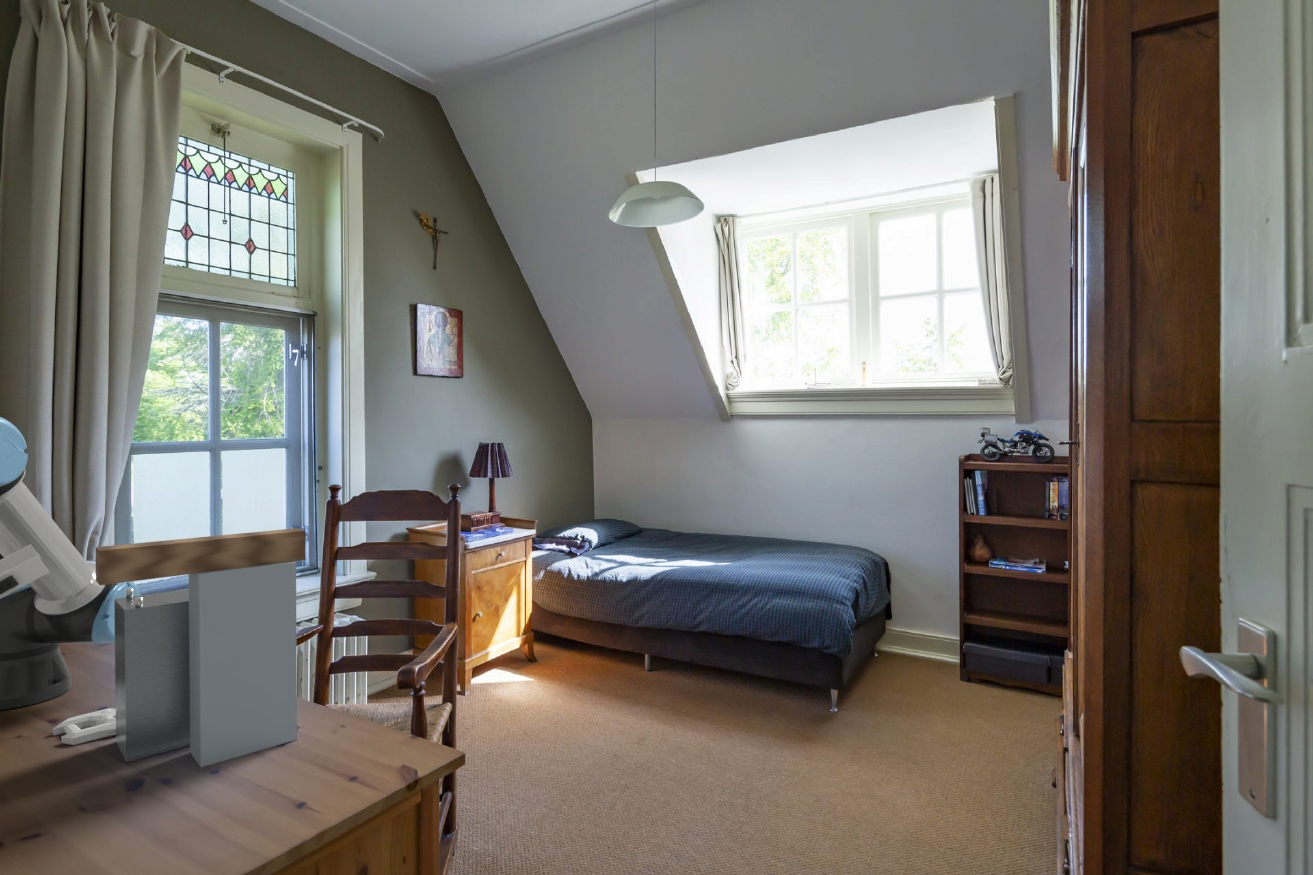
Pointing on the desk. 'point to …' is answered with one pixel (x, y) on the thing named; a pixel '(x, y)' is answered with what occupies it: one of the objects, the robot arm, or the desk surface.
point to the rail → (197, 555)
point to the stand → (242, 661)
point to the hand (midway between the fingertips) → (40, 557)
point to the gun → (87, 727)
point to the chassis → (152, 673)
